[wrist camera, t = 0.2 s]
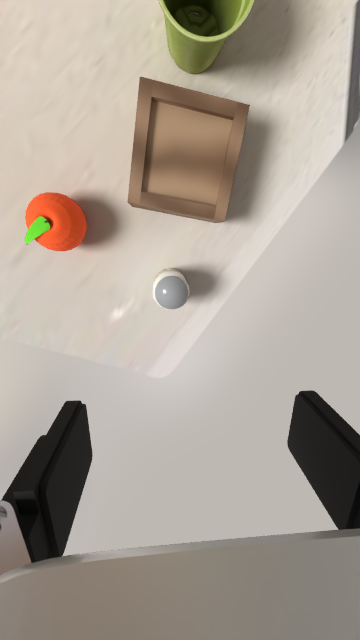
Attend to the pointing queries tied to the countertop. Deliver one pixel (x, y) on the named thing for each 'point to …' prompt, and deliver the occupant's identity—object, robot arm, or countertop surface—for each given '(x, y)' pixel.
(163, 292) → the white rounded cylinder
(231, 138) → the tray
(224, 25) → the plant pot
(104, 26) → the countertop surface
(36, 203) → the clementine
